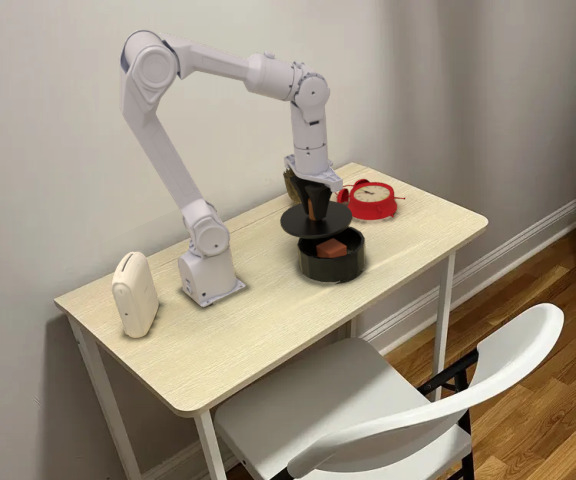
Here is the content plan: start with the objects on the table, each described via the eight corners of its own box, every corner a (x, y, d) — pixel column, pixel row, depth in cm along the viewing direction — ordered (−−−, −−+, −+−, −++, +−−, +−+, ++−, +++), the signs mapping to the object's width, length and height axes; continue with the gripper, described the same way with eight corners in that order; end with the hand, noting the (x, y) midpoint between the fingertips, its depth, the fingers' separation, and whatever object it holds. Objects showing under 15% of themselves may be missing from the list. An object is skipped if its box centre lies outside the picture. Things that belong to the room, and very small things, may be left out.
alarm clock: (377, 212, 134) (324, 177, 141) (372, 237, 139) (321, 202, 146) (412, 192, 139) (359, 159, 145) (406, 217, 144) (355, 184, 150)
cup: (322, 197, 149) (319, 162, 144) (320, 214, 144) (317, 178, 138) (288, 198, 150) (284, 164, 145) (285, 215, 145) (281, 180, 139)
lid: (309, 250, 119) (306, 225, 116) (267, 223, 127) (263, 199, 124) (367, 222, 124) (366, 198, 120) (323, 198, 132) (321, 175, 129)
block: (330, 272, 126) (329, 254, 123) (317, 264, 129) (316, 245, 126) (347, 264, 128) (346, 246, 125) (334, 256, 130) (333, 237, 128)
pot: (326, 292, 122) (324, 267, 119) (287, 265, 130) (284, 240, 127) (378, 267, 127) (378, 241, 123) (338, 242, 135) (336, 217, 131)
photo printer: (147, 339, 117) (129, 278, 109) (123, 338, 118) (103, 278, 110) (162, 303, 125) (147, 244, 116) (140, 303, 125) (123, 245, 117)
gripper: (356, 147, 112) (358, 221, 121) (303, 124, 121) (309, 194, 130) (322, 161, 109) (326, 235, 119) (271, 136, 119) (279, 207, 128)
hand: (315, 215), depth 124 cm, fingers closed on lid, 2 cm apart
